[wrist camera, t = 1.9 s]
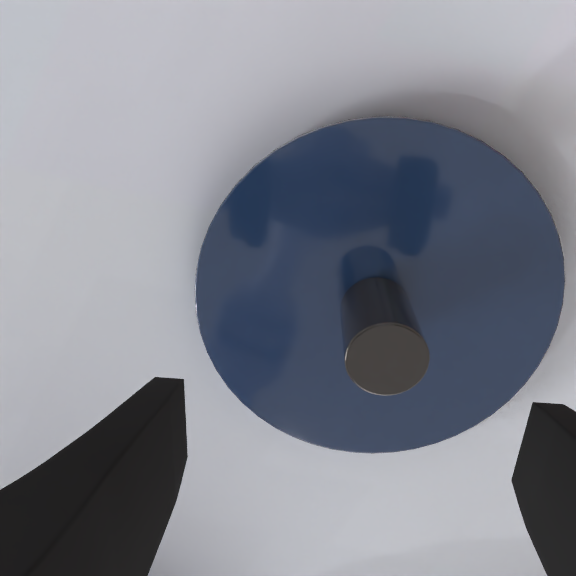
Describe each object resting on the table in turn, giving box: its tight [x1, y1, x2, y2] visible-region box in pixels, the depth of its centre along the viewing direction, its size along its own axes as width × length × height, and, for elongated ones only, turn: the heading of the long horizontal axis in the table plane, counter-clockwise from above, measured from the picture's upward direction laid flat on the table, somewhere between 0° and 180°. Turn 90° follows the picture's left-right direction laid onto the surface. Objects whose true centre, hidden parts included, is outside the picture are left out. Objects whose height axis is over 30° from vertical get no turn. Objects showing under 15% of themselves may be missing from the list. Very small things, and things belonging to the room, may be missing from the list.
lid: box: [195, 116, 565, 453], centre depth 16 cm, size 13×13×5 cm
